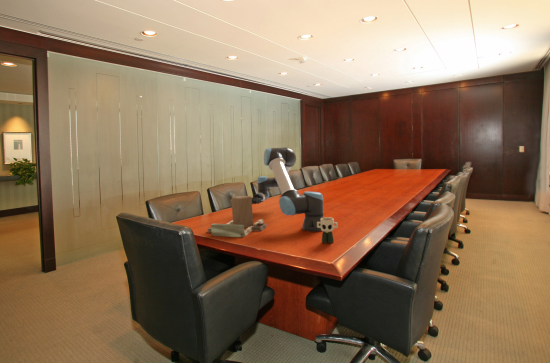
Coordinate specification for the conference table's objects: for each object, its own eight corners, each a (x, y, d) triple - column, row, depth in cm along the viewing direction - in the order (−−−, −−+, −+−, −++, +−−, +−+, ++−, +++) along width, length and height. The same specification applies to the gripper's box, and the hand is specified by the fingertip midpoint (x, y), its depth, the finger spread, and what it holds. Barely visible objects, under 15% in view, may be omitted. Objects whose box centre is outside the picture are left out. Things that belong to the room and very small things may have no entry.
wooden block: (245, 223, 213) (243, 195, 211) (253, 226, 205) (251, 196, 203) (232, 226, 207) (231, 197, 205) (240, 229, 199) (239, 198, 197)
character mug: (316, 244, 161) (316, 220, 160) (318, 240, 168) (317, 217, 167) (337, 244, 159) (337, 220, 157) (338, 240, 166) (337, 217, 164)
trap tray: (228, 221, 222) (227, 211, 221) (271, 222, 212) (271, 212, 211) (202, 235, 189) (201, 224, 188) (253, 237, 178) (252, 226, 178)
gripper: (266, 203, 235) (255, 209, 213) (251, 202, 239) (238, 209, 217) (266, 193, 234) (255, 199, 212) (250, 193, 238) (238, 198, 216)
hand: (247, 204), depth 215 cm, fingers closed
